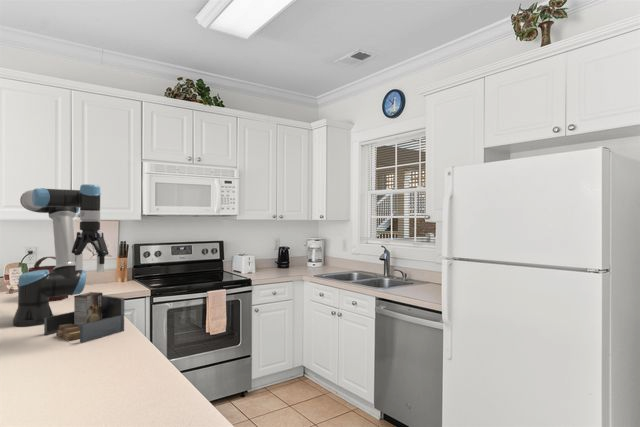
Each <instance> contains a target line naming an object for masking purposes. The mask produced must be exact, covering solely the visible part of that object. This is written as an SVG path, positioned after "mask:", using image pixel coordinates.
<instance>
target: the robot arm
mask: <svg viewBox="0 0 640 427" xmlns="http://www.w3.org/2000/svg"><path fill="white" fill-rule="evenodd" d="M101 194H102V193H101V186H100V185H98V184H92V183H91V184H90V183H89V184H87V183H85V184H81V185H80V188H79V189H60V188H59V189H57V188H44V187H42V188H41V187H40V188H39V187H38V188H34V189H31V190H27V191H25V192H23V193H22V194H21V196H20V199H19V200H20V205H21V207H23V209H26V210H27V211H30V212H34V213H37V214H38V213H40V214H44V213H45V214H48V217H49V219H51V220H52V227H53V229H52V230H53V240H54V242H53V243H54V255H55V256H54V257H56V260H55V265H54V266H55V268H54V269H53V272H52V273H50V272H49V270H38V271H32V272H25V273H22V274H21V275H19V277H18V282H17V289H18V290H17V292H18V293H17V309H16V312H15V313H14V317H13V319H12V325H13V326H14V327H31V326H39V325H44V318H46V317H51V316H54V313H53V311H52V308H51V306H50V302H49V298H50V297H59V296H67V295H68V296H73V295H74V296H76V295H81V294H82V292H83V291H84V289H85V287H86V281H87V274H86V271H85V270H84V269H83V266H84V263H83V261H84V257H83V255H84V254H83V252H84V250H85V249H86V246H87V245H88V244H91V245H92V246H93V248H94V250H95V252H96V253H97V255H96V273H103V272H105V260H106V259H105V258H106V256H108V255H109V250H108V247H107V244H106V240H105V236H104V232H99V231H100V229H101V222H100V220H101ZM78 212H79V220H80V221H79V230H80V231H78V232H76V237H75V232H74V220H73V219H74V218H75V217H76V216H77V215H76V214H77V213H78Z"/></svg>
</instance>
